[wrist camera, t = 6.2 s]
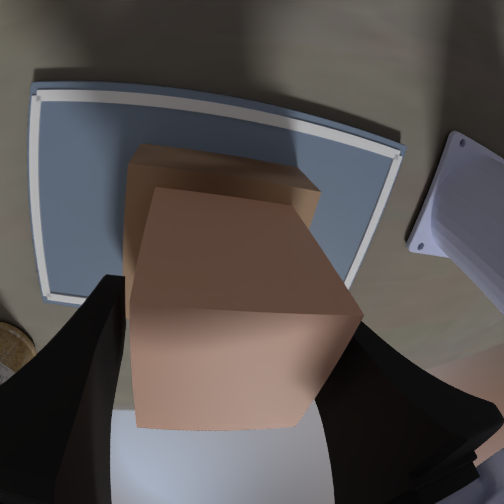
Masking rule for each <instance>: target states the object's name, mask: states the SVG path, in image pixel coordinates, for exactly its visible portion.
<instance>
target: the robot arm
mask: <svg viewBox="0 0 504 504" xmlns="http://www.w3.org/2000/svg"><path fill="white" fill-rule="evenodd" d="M460 141H461V144H460ZM419 244H420V245H419ZM418 245H419V246H418ZM406 247H407V249H408V250H409V251H411V252H415V253H422V254H428V255H435V256H441V257H448V258H450V259H451V260H452V261H453V262H454V263H455V264H456V265H457V266H458V267H459V268H460V269H461V270H462V271H463V272H464V273H465V274H466V275H467V276H468V277H469V278H470V279H471V280H472V281H473V282H474V283H475V284H476V285H477V286H478V287H479V288H480V289H481V290H482V291H483V293H484V294H485V295H486V296H487V297H488V298H489V299H490V300H491V301H492V302H493V303H494V305H495V306H496V307H497V308H498V309H499V310H500V311H501V312H502V314H503V315H504V159H503V158H501V157H500V156H498V155H497V154H495V153H493V152H492V151H490V150H489V149H487V148H485V147H484V146H482V145H480V144H479V143H477V142H475V141H474V140H472V139H470V138H468V137H467V136H465V135H463V134H461V133H460V132H457V131H452V132H451V133H450V134H449V136H448V139H447V142H446V145H445V148H444V151H443V154H442V157H441V160H440V163H439V165H438V168H437V171H436V173H435V176H434V179H433V181H432V184H431V186H430V189H429V192H428V194H427V197H426V199H425V201H424V204H423V206H422V209H421V211H420V213H419V216H418V218H417V220H416V223H415V225H414V227H413V230H412V232H411V234H410V236H409V239H408V241H407V244H406ZM125 330H126V305H125V276H118V275H109V274H106V275H105V276H103V277H102V279H101V280H100V282H99V283H98V284H97V286H96V287H95V288H94V290H93V291H92V292H91V294H90V295H89V296H88V298H87V299H86V300H85V301H84V303H83V304H82V305H81V306H80V307H79V309H78V310H77V311H76V312H75V314H74V315H73V316H72V317H71V318H70V320H69V321H68V322H67V323H66V324H65V325H64V326H63V327H62V328H61V330H60V331H59V332H58V333H57V334H56V335H55V336H54V337H53V338H52V339H51V340H50V342H49V343H48V344H47V345H46V346H45V347H44V348H43V349H42V350H41V351H39V352H38V353H37V354H36V355H35V356H34V357H33V358H32V359H31V360H30V361H29V362H28V363H26V364H25V365H24V366H23V367H22V368H21V369H20V370H18V371H17V372H16V373H15V374H14V375H13V376H11V377H10V378H9V379H8V380H6V381H5V382H4V383H2V384H1V385H0V504H112V502H111V485H110V433H111V417H112V409H113V403H114V398H115V392H116V386H117V381H118V376H119V371H120V366H121V361H122V356H123V349H124V339H125ZM315 402H316V405H317V407H318V410H319V413H320V416H321V420H322V424H323V428H324V432H325V437H326V442H327V446H328V452H329V458H330V463H331V470H332V477H333V486H334V498H335V504H504V448H503V449H501V450H500V451H499V452H497V453H495V454H494V455H493V456H491V457H490V458H488V459H487V460H485V461H484V462H483V463H481V464H480V465H478V466H477V467H475V466H474V464H473V461H474V460H475V459H477V455H476V454H475V452H474V450H475V449H477V448H478V447H479V446H481V445H482V444H483V443H484V442H485V441H487V440H488V439H489V438H490V437H491V436H492V435H493V434H495V433H496V432H497V431H498V430H499V429H500V428H501V427H502V425H503V423H504V418H503V416H502V414H501V413H500V411H499V410H498V408H497V407H496V405H495V404H494V403H492V402H489V401H486V400H484V399H481V398H478V397H475V396H473V395H470V394H468V393H465V392H463V391H461V390H459V389H457V388H454V387H453V386H451V385H448V384H447V383H445V382H443V381H441V380H439V379H438V378H436V377H434V376H433V375H431V374H429V373H427V372H426V371H424V370H423V369H421V368H420V367H418V366H417V365H415V364H414V363H412V362H411V361H410V360H408V359H407V358H405V357H404V356H403V355H401V354H400V353H399V352H397V351H396V350H395V349H394V348H392V347H391V346H390V345H389V344H387V343H386V342H385V341H384V340H383V339H381V338H380V337H379V336H378V335H377V334H376V333H374V332H373V331H372V330H371V329H370V328H369V327H368V326H367V325H365V324H364V323H363V322H362V321H361V322H360V324H359V326H358V327H357V329H356V331H355V333H354V335H353V336H352V338H351V340H350V342H349V343H348V345H347V347H346V349H345V350H344V352H343V354H342V355H341V357H340V359H339V360H338V362H337V364H336V365H335V367H334V369H333V370H332V372H331V374H330V375H329V377H328V378H327V380H326V382H325V383H324V385H323V386H322V388H321V389H320V391H319V393H318V394H317V396H316V397H315Z"/></svg>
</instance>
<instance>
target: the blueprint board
mask: <svg viewBox="0 0 504 504" xmlns="http://www.w3.org/2000/svg"><path fill="white" fill-rule="evenodd" d="M140 144H151V145H160V146H169V147H177V148H185V149H192V150H199V151H206V152H213V153H220V154H226V155H233V156H239V157H245V158H250V159H256V160H262V161H267V162H273V163H278V164H283V165H288V166H293V167H298V168H299V169H300V170H301V171H302V172H303V173H304V174H305V175H306V176H307V177H308V179H309V180H310V181H311V182H312V183H313V184H314V185H315V186H316V187H317V188H318V189H319V190H320V191H321V195H320V198H319V201H318V204H317V207H316V210H315V213H314V216H313V219H312V222H311V225H310V228H309V231H310V232H311V234H312V235H313V237H314V238H315V240H316V241H317V243H318V244H319V246H320V247H321V249H322V250H323V252H324V253H325V255H326V256H327V258H328V259H329V261H330V262H331V264H332V265H333V267H334V268H335V270H336V272H337V273H338V275H339V276H340V278H341V279H342V281H343V282H344V284H345V286H346V287H347V289H348V290H349V289H350V287H351V285H352V283H353V281H354V279H355V276H356V274H357V272H358V270H359V268H360V265H361V263H362V261H363V259H364V256H365V254H366V252H367V250H368V247H369V245H370V243H371V240H372V238H373V235H374V233H375V231H376V228H377V226H378V223H379V221H380V219H381V216H382V214H383V211H384V209H385V206H386V203H387V201H388V198H389V196H390V193H391V190H392V188H393V185H394V182H395V180H396V177H397V174H398V172H399V169H400V166H401V163H402V160H403V157H404V155H405V152H406V149H407V146H405V145H403V144H401V143H399V142H396V141H393V140H391V139H388V138H385V137H382V136H379V135H376V134H374V133H371V132H368V131H365V130H362V129H359V128H355V127H352V126H349V125H346V124H343V123H339V122H336V121H333V120H329V119H326V118H322V117H319V116H315V115H311V114H308V113H304V112H300V111H296V110H292V109H288V108H284V107H280V106H275V105H271V104H267V103H262V102H257V101H253V100H248V99H243V98H238V97H232V96H227V95H221V94H215V93H209V92H203V91H196V90H189V89H182V88H174V87H165V86H156V85H146V84H134V83H120V82H100V81H36V82H31V90H30V101H29V116H28V141H27V169H28V194H29V209H30V220H31V230H32V239H33V247H34V254H35V261H36V267H37V273H38V279H39V284H40V289H41V294H42V299H43V302H44V303H50V304H57V305H64V306H71V307H78V308H79V307H80V306H81V305H82V304H83V303H84V301H85V300H86V299H87V298H88V296H89V295H90V294H91V292H92V291H93V290H94V288H95V287H96V286H97V284H98V283H99V282H100V280H101V279H102V277H103V276H105V275H106V274H109V275H118V276H123V234H124V212H125V196H126V182H127V171H128V163H129V162H130V160H131V158H132V157H133V155H134V153H135V152H136V150H137V149H138V147H139V145H140Z"/></svg>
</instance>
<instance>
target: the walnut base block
mask: <svg viewBox="0 0 504 504" xmlns="http://www.w3.org/2000/svg"><path fill="white" fill-rule="evenodd" d="M155 187H160V188H169V189H177V190H185V191H193V192H201V193H209V194H216V195H223V196H231V197H238V198H245V199H251V200H258V201H265V202H271V203H277V204H284V205H290V206H293V208H294V209H295V210H296V212H297V213H298V215H299V216H300V218H301V219H302V221H303V222H304V224H305V225H306V226H307V228H308V229H309V228H310V225H311V222H312V219H313V216H314V213H315V210H316V207H317V204H318V201H319V198H320V195H321V191H320V190H319V189H318V188H317V187H316V186H315V185H314V184H313V183H312V182H311V181H310V180H309V179H308V177H307V176H306V175H305V174H304V173H303V172H302V171H301V170H300V169H299V168H298V167H293V166H288V165H283V164H278V163H273V162H267V161H262V160H256V159H250V158H245V157H239V156H233V155H226V154H220V153H213V152H206V151H199V150H192V149H185V148H177V147H169V146H160V145H151V144H140V145H139V147H138V149H137V150H136V152H135V153H134V155H133V157H132V158H131V160H130V162H129V163H128V171H127V182H126V196H125V212H124V234H123V276H125V305H126V319H130V306H129V302H130V296H131V291H132V285H133V280H134V275H135V270H136V265H137V261H138V256H139V251H140V247H141V242H142V238H143V234H144V230H145V225H146V221H147V217H148V213H149V209H150V205H151V201H152V198H153V194H154V190H155Z"/></svg>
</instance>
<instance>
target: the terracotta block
mask: <svg viewBox="0 0 504 504" xmlns="http://www.w3.org/2000/svg"><path fill="white" fill-rule="evenodd" d="M129 306H130V346H131V366H132V381H133V394H134V405H135V415H136V424H137V427H139V428H151V429H166V430H167V429H168V430H193V431H229V430H256V429H271V428H284V427H295V426H296V425H297V424H298V422H299V421H300V419H301V418H302V417H303V415H304V414H305V412H306V411H307V409H308V408H309V406H310V405H311V403H312V402H313V400H314V399H315V397H316V396H317V394H318V393H319V391H320V389H321V388H322V386H323V385H324V383H325V382H326V380H327V378H328V377H329V375H330V374H331V372H332V370H333V369H334V367H335V365H336V364H337V362H338V360H339V359H340V357H341V355H342V354H343V352H344V350H345V349H346V347H347V345H348V343H349V342H350V340H351V338H352V336H353V335H354V333H355V331H356V329H357V327H358V326H359V324H360V322H361V320H362V318H363V317H364V314H363V313H362V311H361V309H360V308H359V306H358V305H357V303H356V301H355V300H354V298H353V297H352V295H351V293H350V292H349V290H348V289H347V287H346V286H345V284H344V282H343V281H342V279H341V278H340V276H339V275H338V273H337V272H336V270H335V268H334V267H333V265H332V264H331V262H330V261H329V259H328V258H327V256H326V255H325V253H324V252H323V250H322V249H321V247H320V246H319V244H318V243H317V241H316V240H315V238H314V237H313V235H312V234H311V232H310V231H309V229H308V228H307V226H306V225H305V224H304V222H303V221H302V219H301V218H300V216H299V215H298V213H297V212H296V210H295V209H294V208H293V206H290V205H284V204H277V203H271V202H265V201H258V200H251V199H245V198H238V197H231V196H223V195H216V194H209V193H201V192H193V191H185V190H177V189H169V188H160V187H155V190H154V194H153V198H152V201H151V205H150V209H149V213H148V217H147V221H146V225H145V230H144V234H143V238H142V242H141V247H140V251H139V256H138V261H137V265H136V270H135V275H134V280H133V285H132V291H131V296H130V302H129Z"/></svg>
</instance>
